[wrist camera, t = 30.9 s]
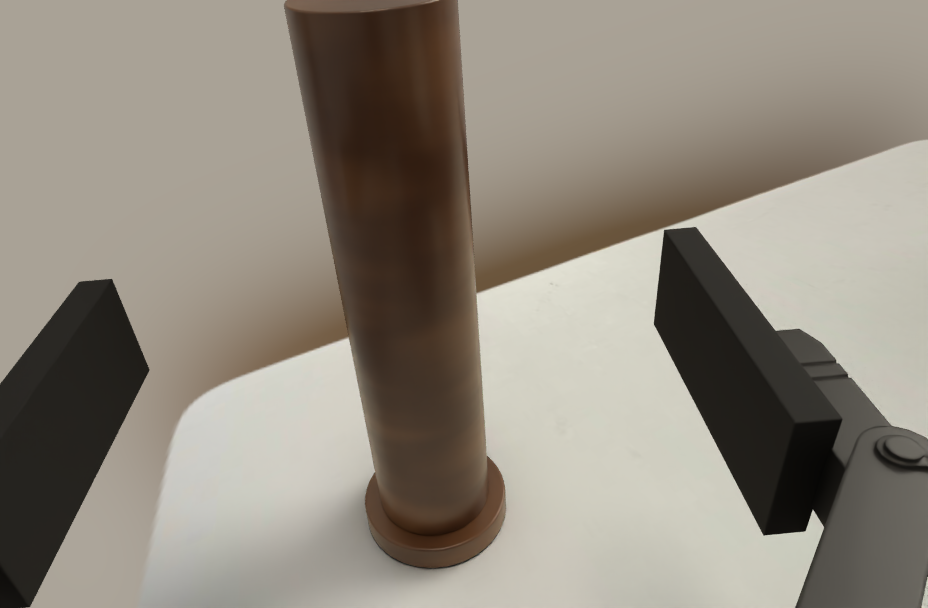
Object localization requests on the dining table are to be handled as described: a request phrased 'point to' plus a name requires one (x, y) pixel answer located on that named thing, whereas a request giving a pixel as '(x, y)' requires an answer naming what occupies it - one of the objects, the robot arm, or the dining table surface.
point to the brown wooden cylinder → (404, 262)
